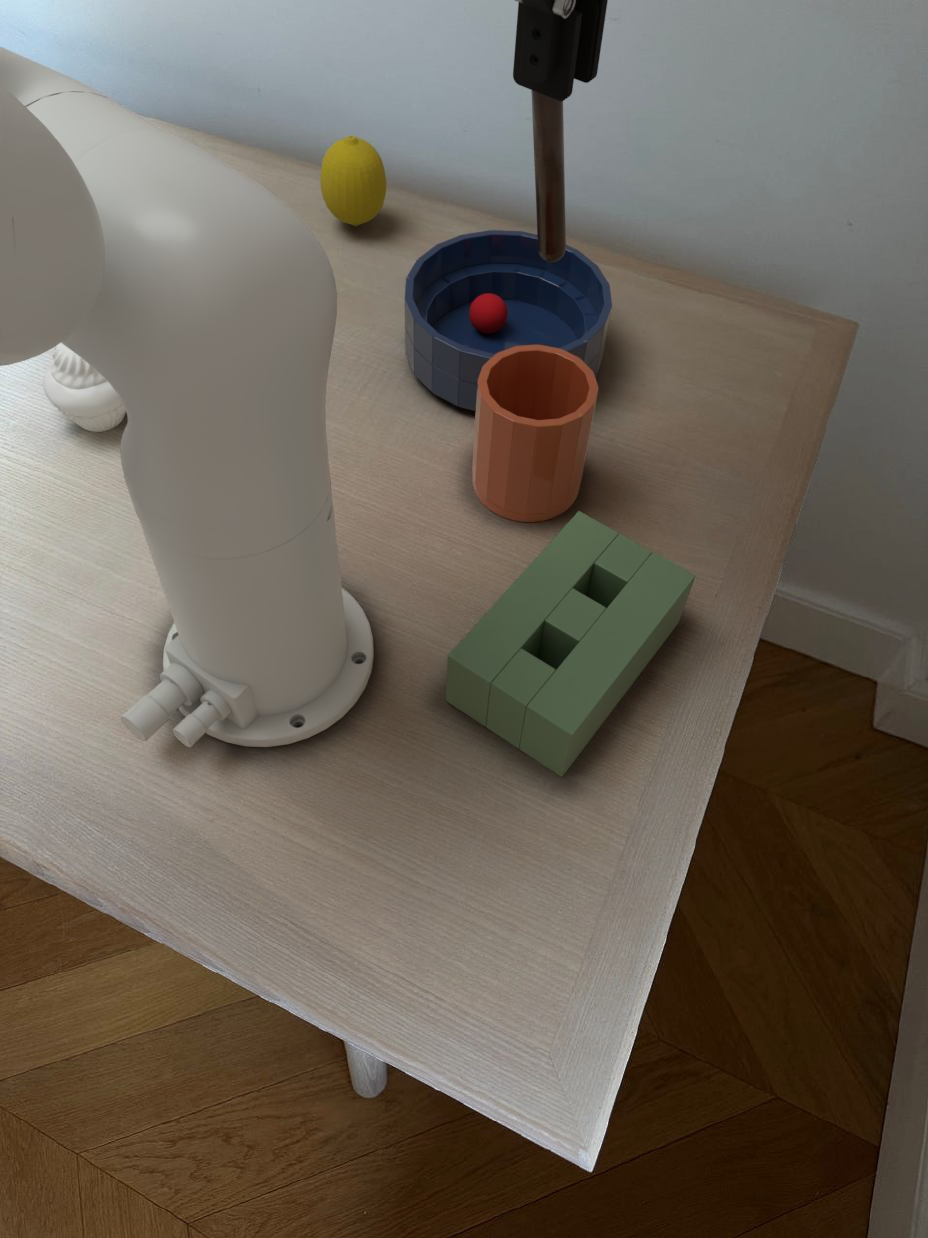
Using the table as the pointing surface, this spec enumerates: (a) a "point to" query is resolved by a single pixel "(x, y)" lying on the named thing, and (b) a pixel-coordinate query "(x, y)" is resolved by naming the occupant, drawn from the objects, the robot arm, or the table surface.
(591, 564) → the holder
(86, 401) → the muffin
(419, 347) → the bowl
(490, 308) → the berry
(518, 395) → the crock
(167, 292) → the robot arm
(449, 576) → the table surface
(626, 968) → the table surface
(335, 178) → the lemon
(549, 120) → the stick
